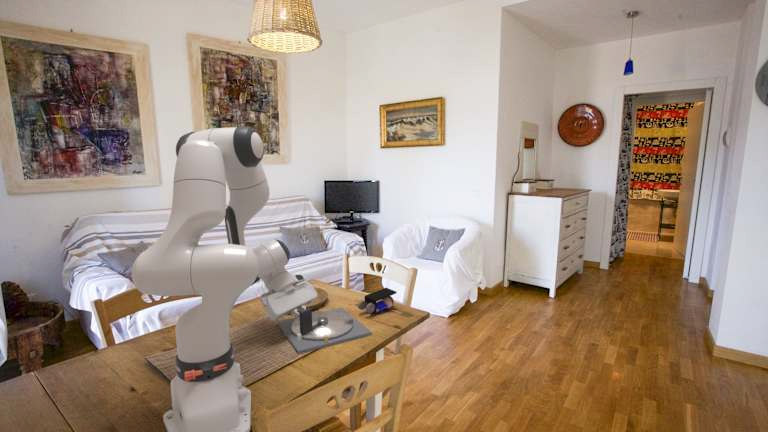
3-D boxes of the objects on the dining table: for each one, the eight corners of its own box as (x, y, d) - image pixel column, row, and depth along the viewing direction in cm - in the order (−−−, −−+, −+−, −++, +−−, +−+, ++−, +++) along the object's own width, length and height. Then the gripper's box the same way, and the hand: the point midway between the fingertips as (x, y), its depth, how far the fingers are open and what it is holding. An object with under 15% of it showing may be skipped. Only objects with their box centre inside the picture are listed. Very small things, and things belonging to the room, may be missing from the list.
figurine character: (370, 323, 137) (398, 307, 147) (368, 304, 136) (396, 289, 146) (358, 317, 142) (386, 303, 152) (356, 299, 140) (384, 285, 151)
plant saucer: (276, 321, 137) (276, 312, 137) (262, 300, 158) (261, 293, 157) (337, 307, 149) (337, 299, 149) (316, 290, 170) (316, 283, 169)
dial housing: (371, 334, 125) (371, 326, 124) (298, 354, 112) (297, 344, 112) (341, 309, 146) (341, 302, 146) (277, 323, 134) (277, 315, 133)
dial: (319, 309, 143) (318, 288, 142) (364, 321, 133) (364, 298, 132) (278, 331, 125) (277, 306, 124) (327, 345, 115) (326, 319, 114)
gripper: (262, 290, 116) (286, 326, 113) (306, 273, 134) (329, 304, 130) (253, 301, 119) (276, 337, 116) (298, 283, 137) (319, 314, 133)
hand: (304, 319), depth 123 cm, fingers closed
